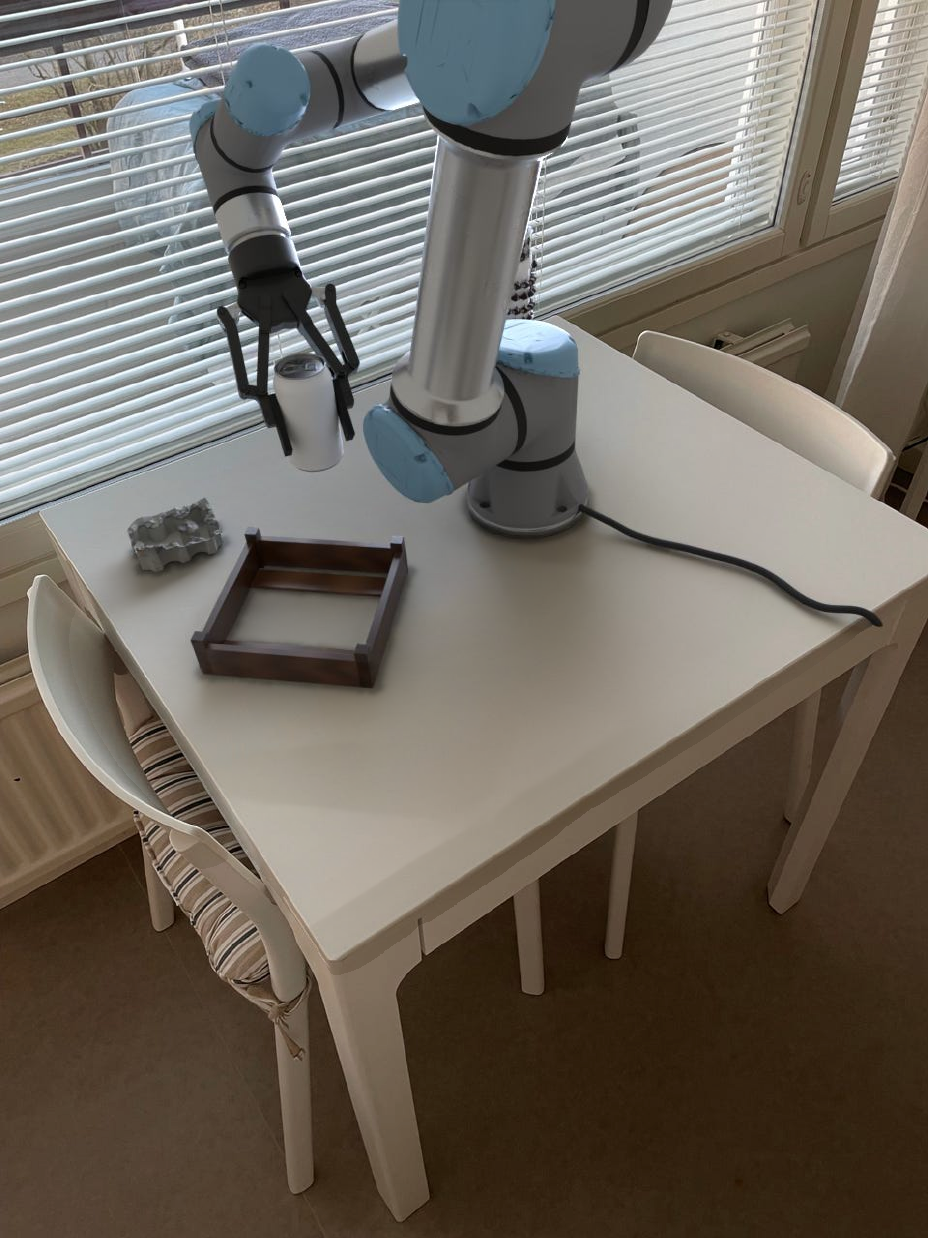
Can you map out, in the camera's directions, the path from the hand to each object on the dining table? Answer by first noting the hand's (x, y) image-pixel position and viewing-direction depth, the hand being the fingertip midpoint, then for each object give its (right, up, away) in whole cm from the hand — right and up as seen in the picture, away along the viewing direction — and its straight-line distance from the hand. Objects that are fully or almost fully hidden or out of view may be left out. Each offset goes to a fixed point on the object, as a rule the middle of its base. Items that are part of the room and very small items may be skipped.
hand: (319, 444), depth 104 cm
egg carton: (-19, -11, +12) cm, 25 cm away
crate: (-1, -20, +1) cm, 20 cm away
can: (-1, -1, +5) cm, 5 cm away
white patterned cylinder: (+28, +24, +42) cm, 56 cm away
